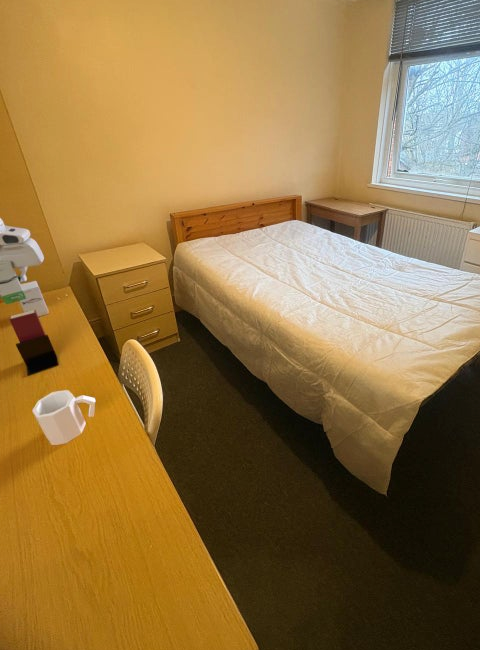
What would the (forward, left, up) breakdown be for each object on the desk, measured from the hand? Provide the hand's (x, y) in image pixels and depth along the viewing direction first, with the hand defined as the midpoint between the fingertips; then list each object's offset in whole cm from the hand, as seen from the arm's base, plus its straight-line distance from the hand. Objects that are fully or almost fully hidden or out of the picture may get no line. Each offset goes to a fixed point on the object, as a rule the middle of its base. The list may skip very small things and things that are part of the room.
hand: (7, 282), depth 91 cm
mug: (+14, -34, -29) cm, 47 cm away
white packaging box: (-9, +35, -29) cm, 46 cm away
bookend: (0, -3, -29) cm, 29 cm away
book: (-1, +4, -21) cm, 21 cm away
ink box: (0, 0, -5) cm, 5 cm away
